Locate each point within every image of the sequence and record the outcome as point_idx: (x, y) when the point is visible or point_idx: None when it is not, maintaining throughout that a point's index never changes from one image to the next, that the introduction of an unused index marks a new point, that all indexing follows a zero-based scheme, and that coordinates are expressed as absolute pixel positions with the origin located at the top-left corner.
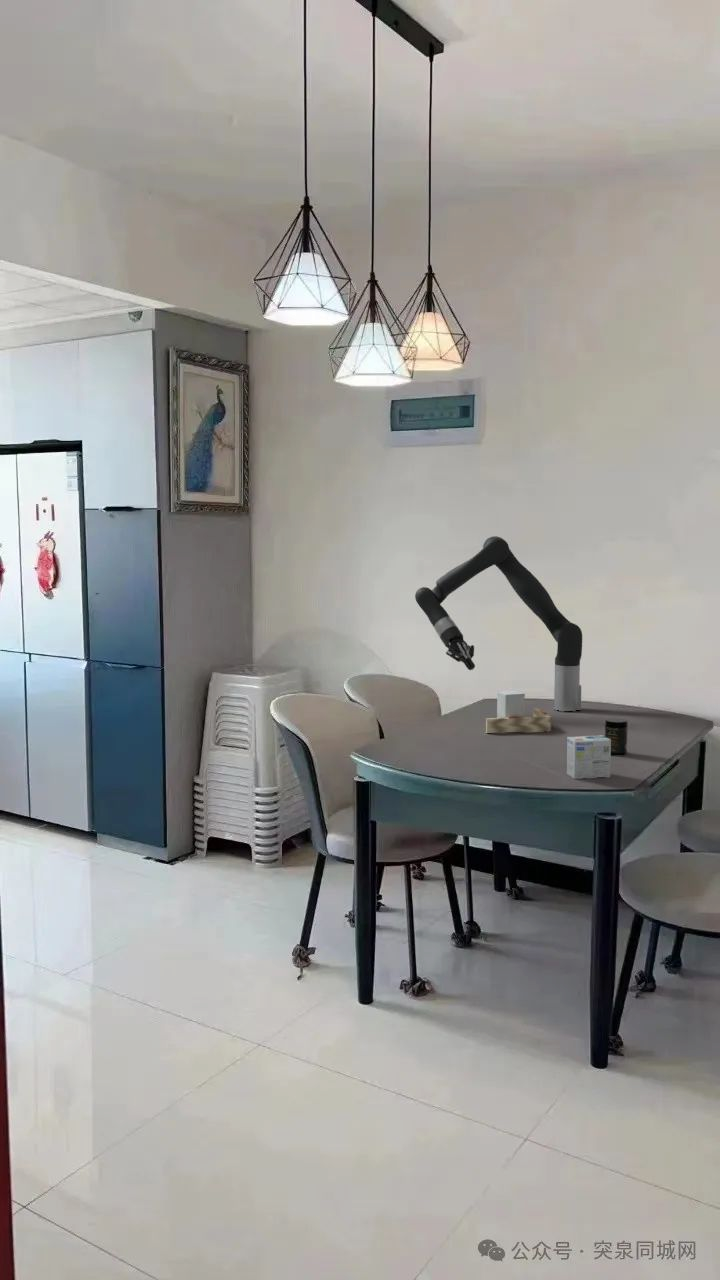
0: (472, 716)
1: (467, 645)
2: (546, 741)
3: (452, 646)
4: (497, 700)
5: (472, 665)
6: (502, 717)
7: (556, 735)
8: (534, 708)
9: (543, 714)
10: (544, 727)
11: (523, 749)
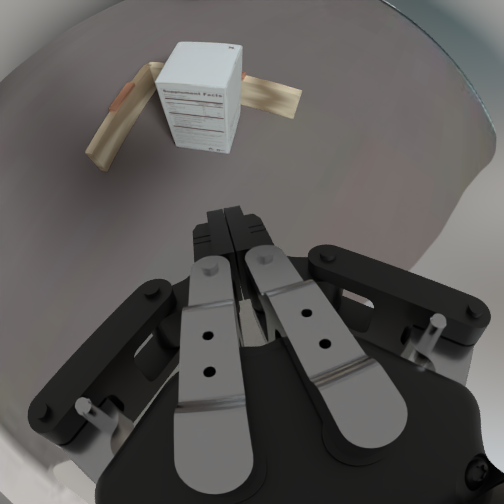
0: None
1: (99, 471)
2: (226, 39)
3: (448, 381)
4: (228, 104)
5: (230, 209)
6: (238, 104)
7: None
8: (93, 148)
9: (135, 86)
10: None
11: (295, 28)
